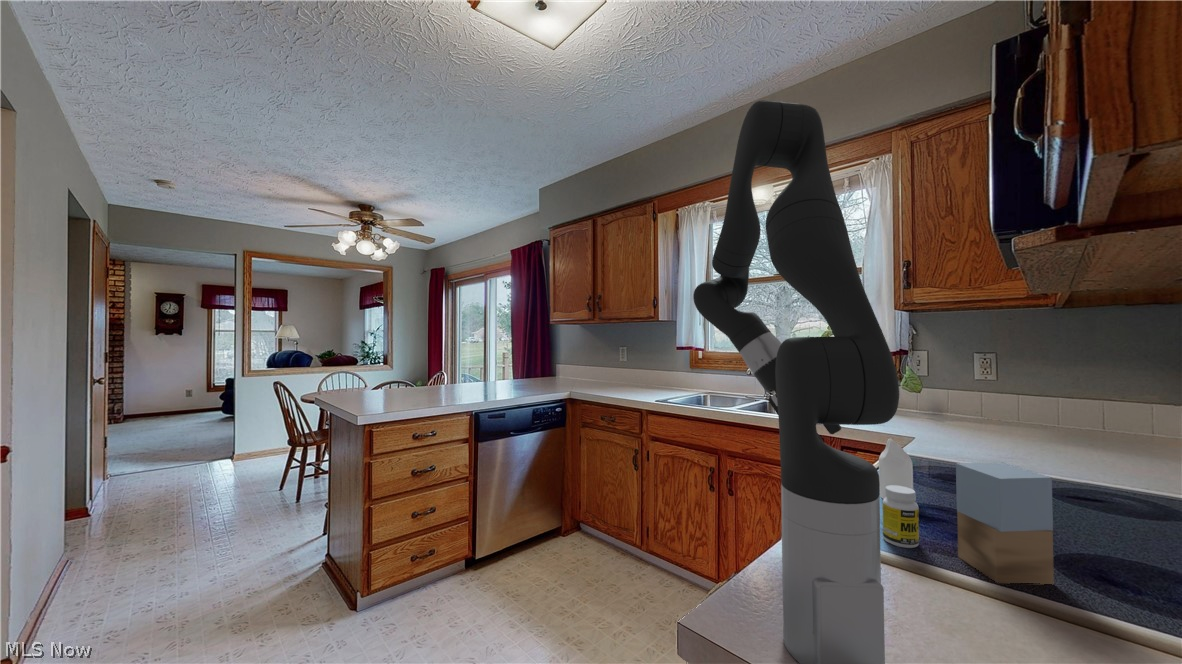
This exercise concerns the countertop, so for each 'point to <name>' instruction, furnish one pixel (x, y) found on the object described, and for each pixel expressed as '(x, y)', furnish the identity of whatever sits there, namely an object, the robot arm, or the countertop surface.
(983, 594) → the countertop surface
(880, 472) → the white bottle
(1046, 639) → the countertop surface
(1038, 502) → the slate block
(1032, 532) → the walnut block
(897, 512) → the supplement bottle
